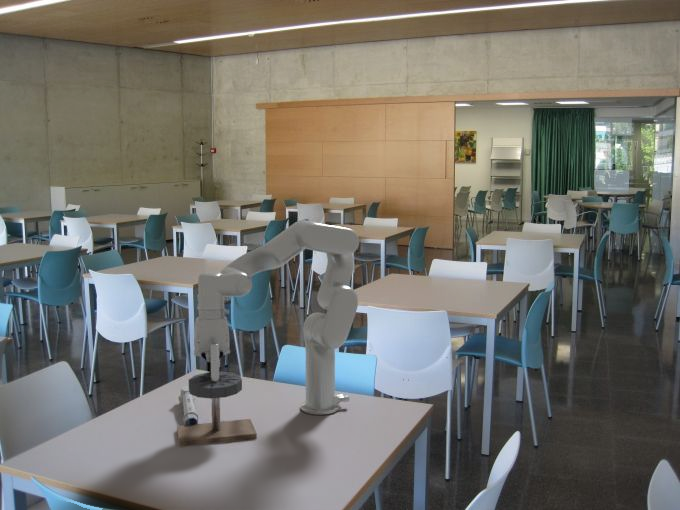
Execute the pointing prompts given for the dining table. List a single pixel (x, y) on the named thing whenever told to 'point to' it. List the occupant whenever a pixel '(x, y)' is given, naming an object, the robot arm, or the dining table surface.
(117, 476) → the dining table surface
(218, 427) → the steel pipe
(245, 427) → the pipe stand base
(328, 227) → the robot arm
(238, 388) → the grey faceted washer
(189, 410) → the white cylindrical tool
